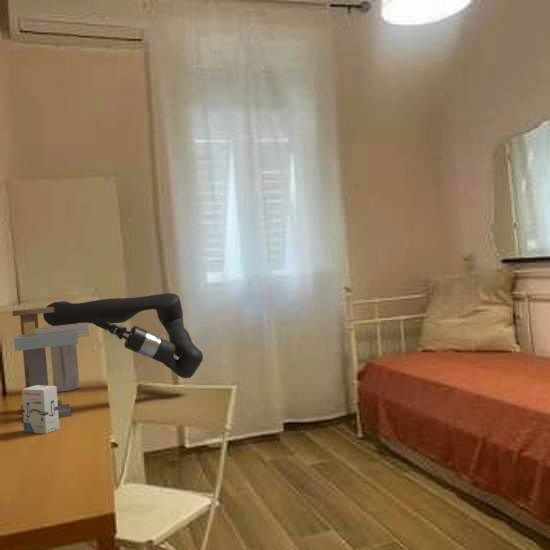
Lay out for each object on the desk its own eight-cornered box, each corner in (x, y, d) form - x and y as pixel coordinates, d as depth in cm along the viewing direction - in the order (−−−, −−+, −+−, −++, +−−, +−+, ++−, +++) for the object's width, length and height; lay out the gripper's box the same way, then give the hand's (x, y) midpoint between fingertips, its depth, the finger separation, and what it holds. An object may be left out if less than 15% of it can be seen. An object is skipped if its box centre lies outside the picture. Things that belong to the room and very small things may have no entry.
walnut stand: (21, 409, 191) (13, 310, 191) (61, 403, 195) (53, 307, 195) (20, 414, 182) (12, 311, 183) (62, 408, 187) (53, 307, 187)
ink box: (23, 432, 158) (19, 388, 158) (38, 427, 162) (35, 385, 162) (45, 434, 154) (42, 389, 154) (60, 429, 158) (57, 385, 158)
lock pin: (25, 342, 178) (24, 322, 178) (87, 335, 185) (86, 316, 185) (25, 343, 173) (23, 323, 173) (89, 336, 180) (87, 316, 180)
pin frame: (22, 415, 181) (16, 335, 182) (80, 406, 188) (74, 329, 188) (21, 424, 168) (14, 338, 168) (83, 414, 174) (76, 332, 174)
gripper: (141, 355, 181) (91, 333, 175) (134, 351, 194) (87, 330, 189) (152, 332, 182) (103, 310, 177) (144, 330, 195) (98, 309, 190)
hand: (95, 321), depth 183 cm, fingers open, 8 cm apart
